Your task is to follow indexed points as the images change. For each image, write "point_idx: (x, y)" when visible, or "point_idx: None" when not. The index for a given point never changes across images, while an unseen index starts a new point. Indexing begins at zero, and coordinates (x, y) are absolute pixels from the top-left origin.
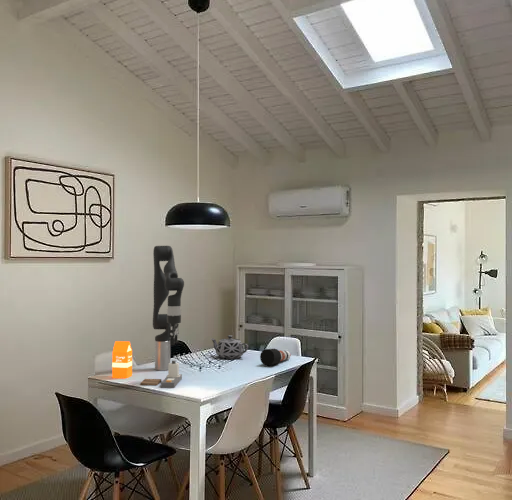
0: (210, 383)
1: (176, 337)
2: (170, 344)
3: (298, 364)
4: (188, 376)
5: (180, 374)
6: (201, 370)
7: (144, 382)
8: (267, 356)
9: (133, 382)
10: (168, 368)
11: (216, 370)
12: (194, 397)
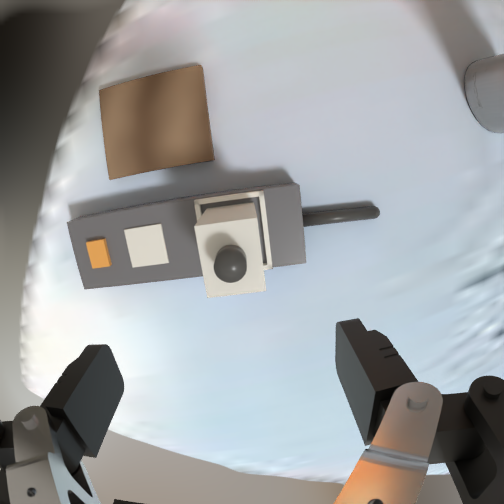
0: (225, 397)
1: (358, 420)
2: (87, 350)
3: None
4: (364, 269)
5: (268, 268)
6: (480, 284)
7: (110, 105)
8: None
9: (160, 30)
10: (199, 220)
11: (471, 340)
12: (26, 372)
